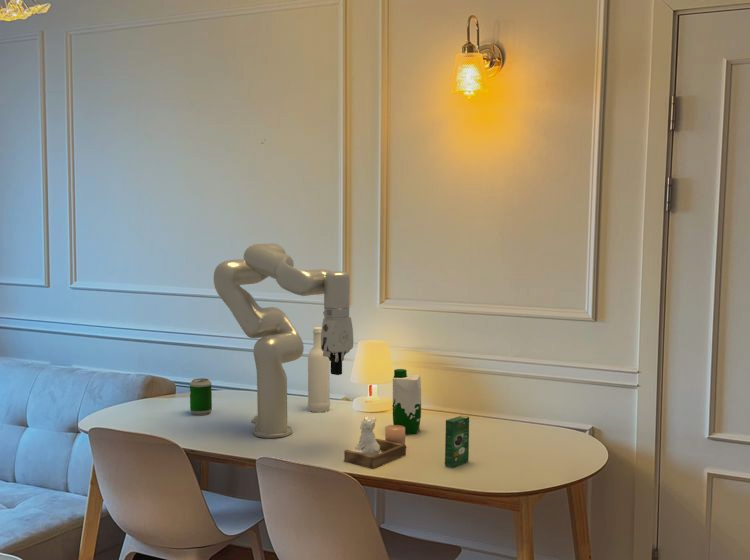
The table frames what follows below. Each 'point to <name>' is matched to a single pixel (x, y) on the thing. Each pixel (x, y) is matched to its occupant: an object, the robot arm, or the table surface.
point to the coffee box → (457, 441)
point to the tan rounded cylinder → (395, 434)
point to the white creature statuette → (368, 438)
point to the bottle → (318, 376)
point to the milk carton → (406, 400)
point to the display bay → (390, 454)
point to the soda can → (200, 396)
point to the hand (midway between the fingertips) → (336, 374)
